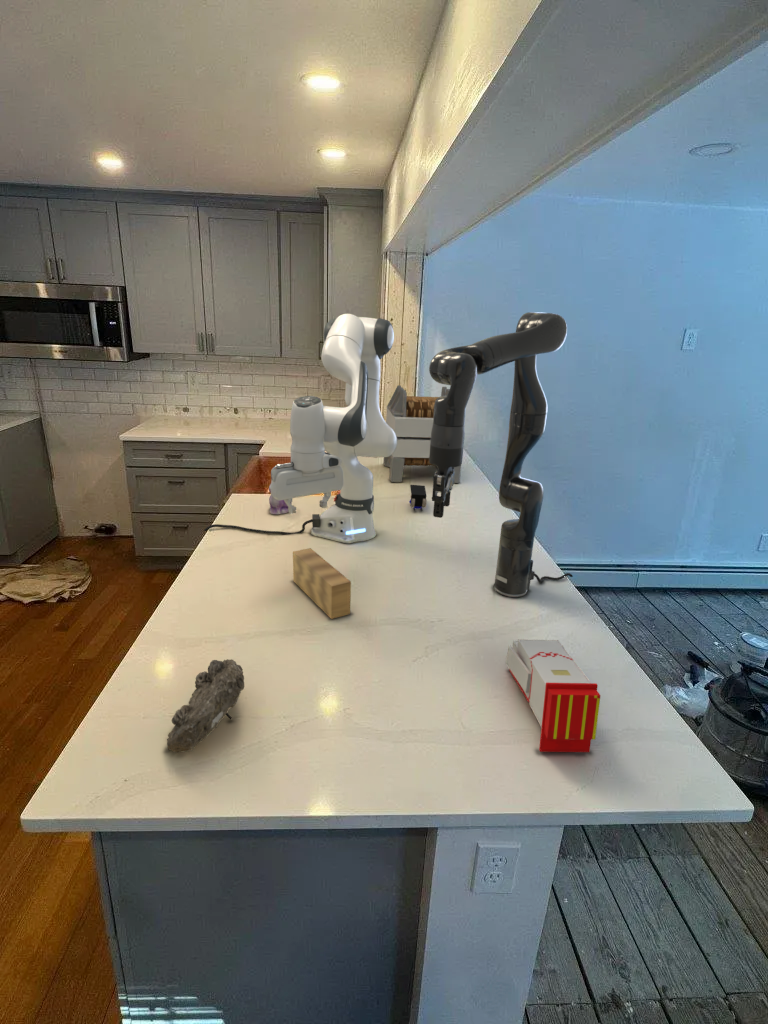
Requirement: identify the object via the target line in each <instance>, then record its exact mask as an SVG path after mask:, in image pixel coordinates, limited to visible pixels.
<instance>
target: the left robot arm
mask: <svg viewBox="0 0 768 1024" xmlns="http://www.w3.org/2000/svg"><path fill="white" fill-rule="evenodd" d="M392 324H393V323H392V322H390V320H388V319H385V318H381V317H378V318H376V317H375V318H374V317H368V316H367V317H366V316H357V315H355V314H353V313H343V314H341V315H339V316H337V317H335V318H330V319H329V321H328V322H326V324H325V326H324V330H323V341H324V343H323V346H322V350H321V357H320V359H321V363H322V366H323V367H324V370H326V372H327V373H328V374H329V375H331V376H332V377H333V378H335V379H337V380H339V381H341V382H343V383H345V390H344V391H345V392H344V402H345V405H346V407H340V406H329V405H324V402H323V400H322V398H320V397H318V396H315V395H303V396H299V397H297V398H295V399H294V400H293V401H292V405H291V409H290V410H291V411H290V419H289V422H290V423H289V432H290V433H289V434H290V437H291V444H290V462H286V463H277V464H276V465H275V466H273V467H272V468H271V471H270V484H271V493H270V495H272V497H274V498H275V499H276V500H284V501H285V503H286V504H287V506H288V512H287V513H288V514H290V515H294V514H296V513H297V507H296V506H295V505H293V504H291V503H290V502H292V503H293V499H296V498H302V497H309V496H314V495H320V494H323V497H322V499H320V500H319V507H320V508H321V509H325V510H323V512H321V514H320V513H312V517H311V519H308V520H306V521H305V522H304V523H302V525H301V529H300V530H299V531H295V532H288V531H280V530H279V531H278V530H263V529H257V528H249V527H244V526H239V525H231V524H220V523H219V524H211V525H209V526H207V527H205V528H204V529H203V531H204V532H207V531H209V530H210V529H212V528H222V529H223V528H224V529H235V530H236V529H237V530H241V531H246V532H251V533H260V534H267V535H284V536H285V535H286V536H287V535H296V534H302V533H303V532H305V530H306V525H308V524H310V523H312V526H311V527H312V528H311V530H310V533H311V536H315V537H319V538H323V539H326V540H330V541H336V542H339V543H343V544H352V543H357V542H365V541H368V540H372V539H373V538H375V537H376V535H377V532H376V528H375V523H374V513H373V512H374V509H375V496H374V474H373V472H372V471H371V469H369V467H367V466H365V465H364V464H362V463H361V462H360V461H359V459H358V457H360V458H372V459H379V458H384V457H389V456H390V455H391V454H392V453H393V452H394V451H395V449H396V446H397V437H396V434H395V432H394V430H393V429H392V428H391V427H390V426H389V425H388V424H387V423H386V419H384V417H383V415H382V412H381V409H380V386H381V372H382V371H381V360H382V359H383V358H384V356H386V355H387V354H388V353H389V352H390V351H391V349H392V348H393V345H394V341H395V332H394V326H393V325H392ZM271 479H272V481H271ZM337 491H338V492H337ZM333 492H337V494H336V495H335V496H334V497H333V502H334V504H333V505H331V506H329V507H328V502H329V500H330V498H331V497H332V493H333Z"/></svg>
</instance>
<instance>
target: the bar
mask: <svg viewBox="0 0 768 1024" xmlns="http://www.w3.org/2000/svg"><path fill="white" fill-rule="evenodd" d="M292 577H293V578H292V581H293V583H294V584H296V585H297V587H299V589H300V590H301V591H302V592H303V593H304V594H305V595H306V596H308V597H309V598H310V599H311V601H312V602H314V604H316V606H318V608H320V610H322V611H323V612H324V613H325V614H326V615H327V617H329V618H330V619H331V620H333V619H336V618H340V617H344V616H347V615H350V614H351V597H352V594H351V593H352V581H351V580H350V579H348V578H347V577H346V576H345V575H344V574H342V573H341V572H340V571H339V570H337V568H335V567H334V566H333V565H331V563H329V562H328V561H327V560H326V559H325V558H324V557H322V556H321V555H319V554H318V553H317V552H316V551H315V550H313V548H311V547H309V548H303V549H299V550H294V551H292Z"/></svg>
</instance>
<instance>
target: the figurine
mask: <svg viewBox="0 0 768 1024" xmlns="http://www.w3.org/2000/svg"><path fill="white" fill-rule="evenodd" d="M271 481H272V479H271V478H270V482H271ZM268 492H269V493H270V495H269V498H268V504H269V507H270V508H269V513H270V514H271V515H281V514H286V513H289V512H288V506H287V504H286V503H285V501H284V500H276V499H275V498H274V497H272V495H271V483H270V484H269V486H268ZM290 503H291V504H292V503H293V501H292V502H290ZM292 505H293V504H292Z"/></svg>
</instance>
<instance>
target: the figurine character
mask: <svg viewBox="0 0 768 1024" xmlns="http://www.w3.org/2000/svg"><path fill="white" fill-rule="evenodd" d="M409 487H410V500H409V501H408V502H409V506H410V508H412V509H413V510H412V511H413V512H416V510H420V512H423V508H426V507H427V497H428V495H427V491H426V486H425V485H421V484H410V486H409Z"/></svg>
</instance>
